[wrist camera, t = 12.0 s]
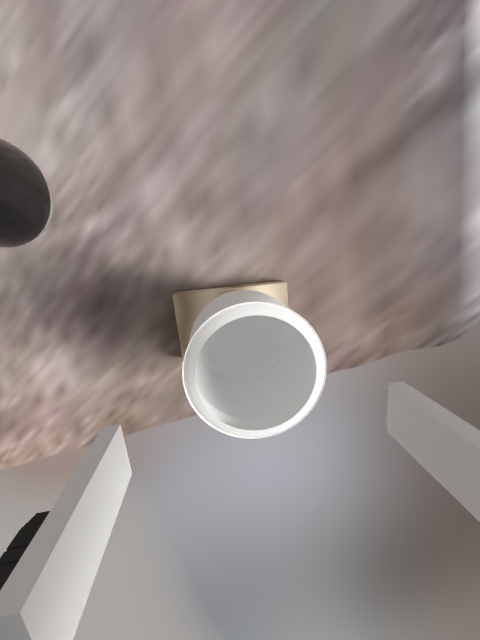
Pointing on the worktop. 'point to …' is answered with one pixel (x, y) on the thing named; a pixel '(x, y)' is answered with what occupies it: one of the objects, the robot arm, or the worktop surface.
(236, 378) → the white cup
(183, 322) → the birch trivet
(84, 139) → the worktop surface
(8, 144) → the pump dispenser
